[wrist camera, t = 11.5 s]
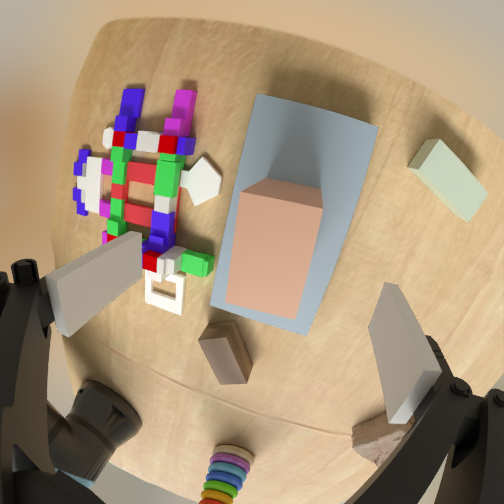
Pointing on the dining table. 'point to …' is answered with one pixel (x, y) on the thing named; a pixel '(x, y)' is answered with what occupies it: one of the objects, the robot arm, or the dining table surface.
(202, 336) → the walnut block
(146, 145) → the building block set
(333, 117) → the base block
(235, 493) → the stacking toy
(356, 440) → the brick
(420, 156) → the sage block
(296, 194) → the terracotta block
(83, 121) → the dining table surface
